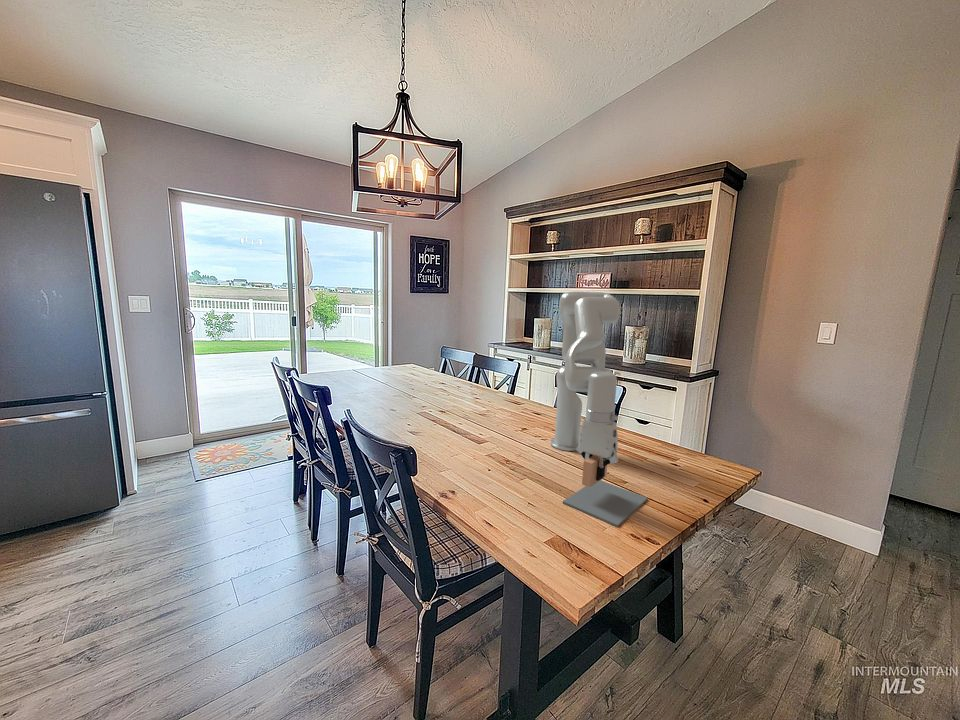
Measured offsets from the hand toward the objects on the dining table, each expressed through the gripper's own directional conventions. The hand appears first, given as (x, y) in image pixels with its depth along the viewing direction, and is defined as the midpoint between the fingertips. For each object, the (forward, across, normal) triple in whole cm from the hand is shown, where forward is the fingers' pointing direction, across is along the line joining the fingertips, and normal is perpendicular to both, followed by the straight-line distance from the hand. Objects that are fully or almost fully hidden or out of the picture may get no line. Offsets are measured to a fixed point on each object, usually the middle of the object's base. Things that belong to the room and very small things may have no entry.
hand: (594, 476), depth 113 cm
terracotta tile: (+1, 0, 0) cm, 1 cm away
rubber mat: (+6, -4, 0) cm, 7 cm away
